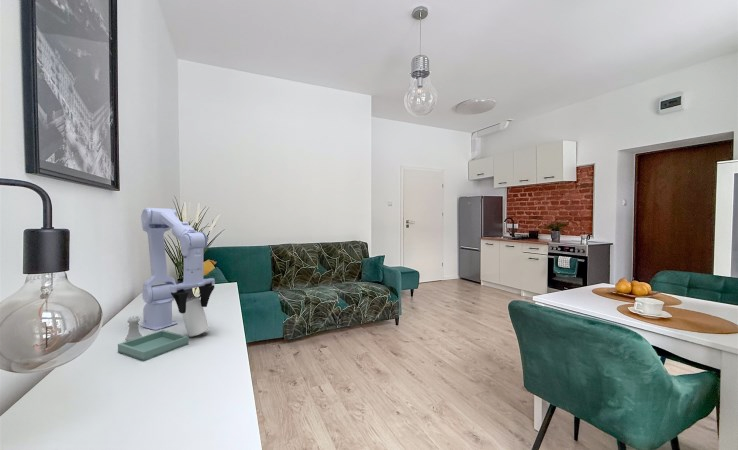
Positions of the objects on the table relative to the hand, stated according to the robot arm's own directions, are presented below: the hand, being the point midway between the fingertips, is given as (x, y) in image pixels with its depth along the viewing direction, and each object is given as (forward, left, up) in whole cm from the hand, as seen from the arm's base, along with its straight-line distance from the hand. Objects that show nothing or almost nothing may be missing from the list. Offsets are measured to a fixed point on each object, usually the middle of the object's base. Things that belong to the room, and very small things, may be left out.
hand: (193, 309), depth 100 cm
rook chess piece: (-15, -10, -10) cm, 21 cm away
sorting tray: (-4, -10, -10) cm, 15 cm away
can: (-1, +3, -9) cm, 10 cm away
